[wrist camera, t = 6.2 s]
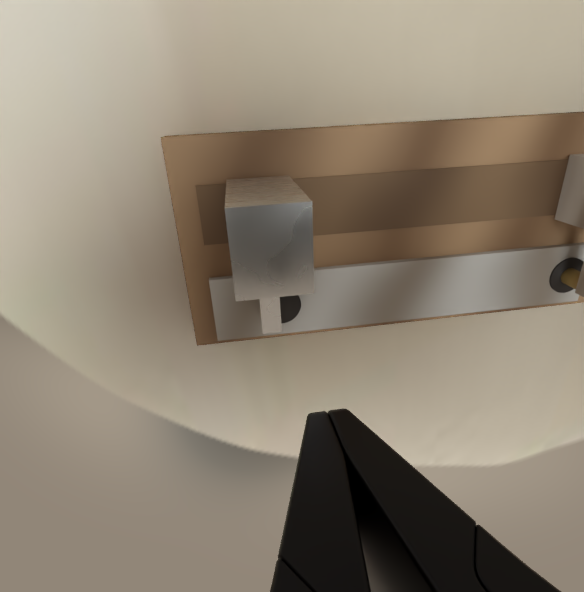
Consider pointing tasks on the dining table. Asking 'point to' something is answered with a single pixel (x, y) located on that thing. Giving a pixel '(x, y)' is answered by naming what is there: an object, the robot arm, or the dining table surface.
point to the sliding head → (269, 243)
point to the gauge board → (393, 219)
